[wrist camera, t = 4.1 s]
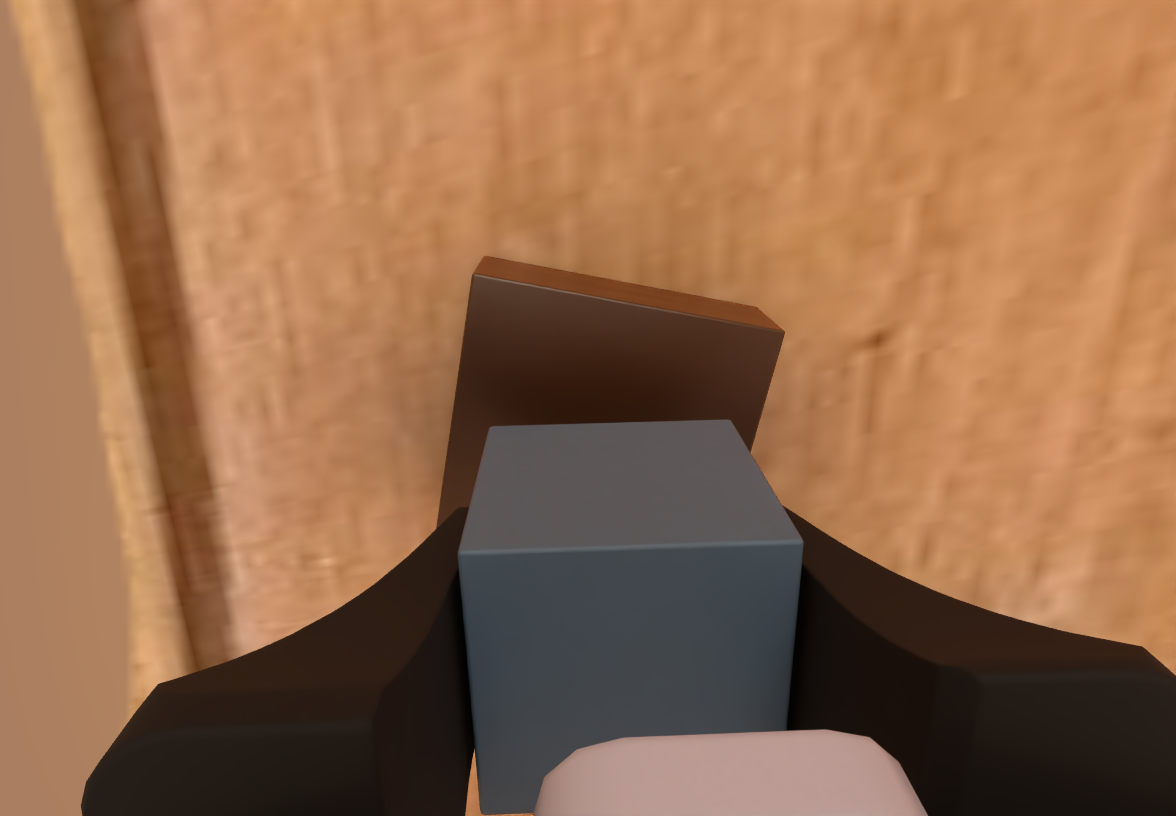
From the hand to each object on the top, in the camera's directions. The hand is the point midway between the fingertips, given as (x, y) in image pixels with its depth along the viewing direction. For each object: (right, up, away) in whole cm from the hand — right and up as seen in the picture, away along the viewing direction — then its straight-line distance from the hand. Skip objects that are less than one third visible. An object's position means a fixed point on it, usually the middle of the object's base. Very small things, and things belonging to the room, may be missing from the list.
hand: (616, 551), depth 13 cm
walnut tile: (0, +2, +7) cm, 7 cm away
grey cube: (0, 0, +1) cm, 1 cm away
